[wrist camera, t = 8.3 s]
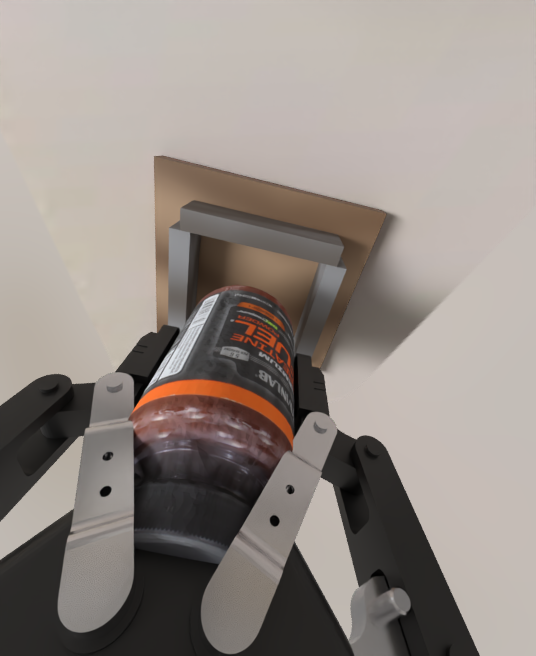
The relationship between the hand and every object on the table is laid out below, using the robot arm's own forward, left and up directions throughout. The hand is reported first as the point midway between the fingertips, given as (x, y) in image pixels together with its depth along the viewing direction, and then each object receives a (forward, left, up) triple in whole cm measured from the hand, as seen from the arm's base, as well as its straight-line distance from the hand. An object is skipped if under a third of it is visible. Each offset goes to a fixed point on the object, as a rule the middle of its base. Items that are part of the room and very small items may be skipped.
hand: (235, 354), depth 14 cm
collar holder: (0, 0, -8) cm, 8 cm away
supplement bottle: (0, 0, -3) cm, 3 cm away
